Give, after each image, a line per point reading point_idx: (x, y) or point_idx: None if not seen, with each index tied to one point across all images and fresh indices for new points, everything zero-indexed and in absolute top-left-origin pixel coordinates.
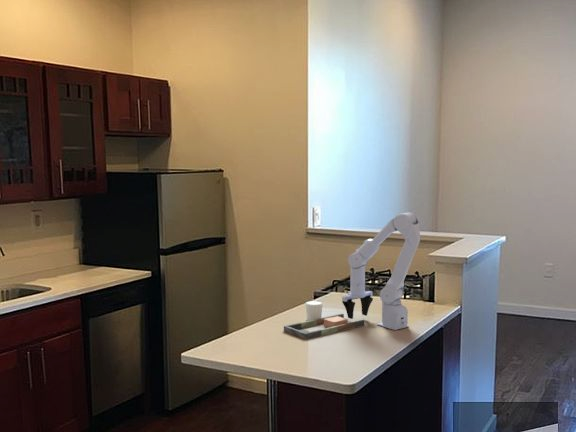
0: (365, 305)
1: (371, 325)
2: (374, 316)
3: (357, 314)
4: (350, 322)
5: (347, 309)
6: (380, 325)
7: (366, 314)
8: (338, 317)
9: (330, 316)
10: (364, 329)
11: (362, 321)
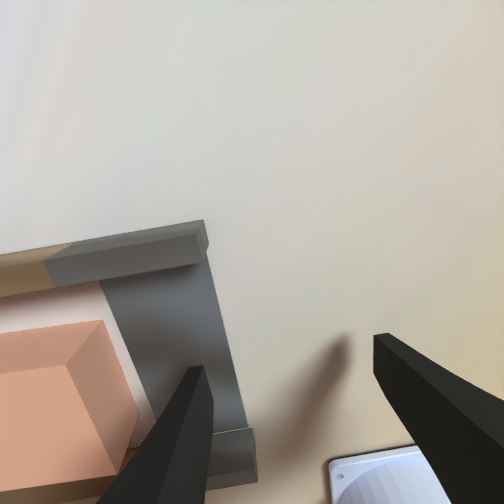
0: (452, 472)
1: (295, 450)
2: (490, 292)
3: (435, 156)
4: (205, 356)
5: (157, 457)
6: (330, 483)
7: (384, 383)
8: (51, 407)
9: (3, 283)
10: (205, 491)
11: (236, 479)
